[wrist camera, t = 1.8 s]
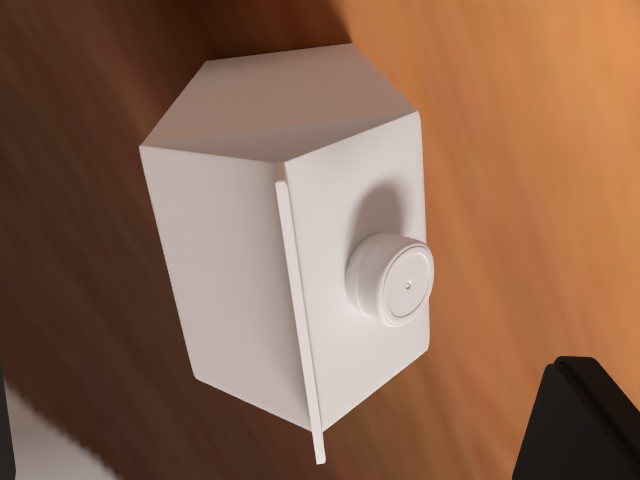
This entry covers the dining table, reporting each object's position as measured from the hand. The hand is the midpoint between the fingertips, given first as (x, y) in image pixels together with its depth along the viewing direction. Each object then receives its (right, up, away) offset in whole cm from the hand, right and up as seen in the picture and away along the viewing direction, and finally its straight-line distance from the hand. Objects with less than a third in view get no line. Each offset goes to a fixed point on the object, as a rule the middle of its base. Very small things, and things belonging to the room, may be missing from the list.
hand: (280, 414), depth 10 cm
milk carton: (-1, +9, +20) cm, 22 cm away
